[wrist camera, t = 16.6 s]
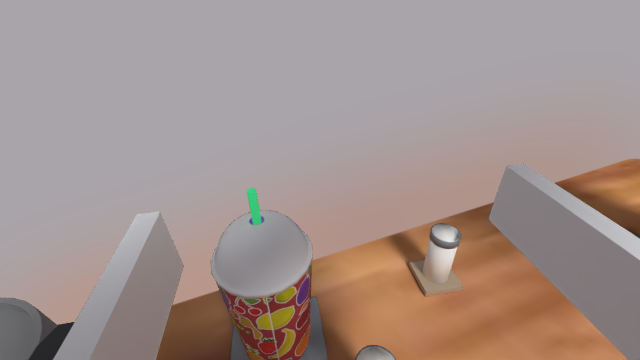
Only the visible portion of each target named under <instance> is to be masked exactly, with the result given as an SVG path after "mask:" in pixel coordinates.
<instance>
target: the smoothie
mask: <svg viewBox="0 0 640 360" xmlns="http://www.w3.org/2000/svg"><path fill="white" fill-rule="evenodd" d="M247 194H248V200H249V205H250V210H251V212H249V213H246V214H244V215H242V216H240V217H238V218H237V219H236V220H234V221H233V222H232V223H231V224H230V225H229V226H228V228H227V229H226V230H225V231H224V232H223V234H222V236H221V238H220V241H219V243H218V246H217V248H216V249H215V251H214V254H213V257H212V259H211V273H212V275H213V277H214V279H215V280H216V283H217V285H218V288H219V290H220V292H221V295H222V297H223V299H224V302H225V304H226V306H227V309H228V311H229V313H230V316H231V318H232V320H233V323H234V325H235V327H236V330H237V332H238V334H239V337H240V339H241V341H242V344H243V346H244V348H245V351H246V353H247V355H248V356H249V358H250V360H299V359H300V358H301V357H302V355H303V354H304V352H305V351H306V349H307V346H308V343H309V339H310V307H311V269H312V262H311V261H312V244H311V242H310V240H309V238H308V236H307V235H306V234H305V233H304V232H303V231H302V230H301V229H300V228H299V227H298V225H297V224H296V223H294V222H293V221H292V220H291V219H290V218H289V217H287V216H285V215H283V214H280V213H278V212H276V211H271V210H259V205H258V199H257V193H256V189H254V188H250V189H248V190H247Z"/></svg>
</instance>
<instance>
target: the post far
mask: <svg viewBox="0 0 640 360" xmlns="http://www.w3.org/2000/svg"><path fill="white" fill-rule="evenodd" d="M460 240H461V233H460V231H459V230H458V229H457V228H455V227H453V226H451V225H448V224H443V223H440V224H435V225H434V226H432V228H431V232H430V240H429V245H428V249H427V253H426V258H425V260H421V261H414V262H409V268H410V269H411V271H412V273H413V275H414V277H415V279H416V281H417V282H418V284H419V286H420V288H421V290H422V292H423V293H424V295H425V296H431V295H437V294H443V293H449V292H455V291H461V290H462V289H463V285H462V283H461V282H460V281H459V279H458V278H457V276H456V275H455V273H454V272H453V271H452V269H451V266H452V263H453V260H454V256H455V253H456V250H457V247H458V245H459V243H460Z"/></svg>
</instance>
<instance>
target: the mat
mask: <svg viewBox="0 0 640 360" xmlns="http://www.w3.org/2000/svg"><path fill="white" fill-rule="evenodd" d="M230 360H250V358H249V356H248V355H247V353H246V351H245V348H244V346H243V344H242V341H241V339H240V337H239V334H238V332H237V330H236V327H235V325H233V336H232V347H231V358H230ZM299 360H328V357H327V351H326V346H325V340H324V335H323V329H322V323H321V318H320V312H319V307H318V301H317V297H313V298H311V307H310V339H309V343H308V346H307V349H306V351H305V352H304V354H303V355H302V357H301V358H300V359H299Z"/></svg>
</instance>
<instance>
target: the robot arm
mask: <svg viewBox="0 0 640 360" xmlns="http://www.w3.org/2000/svg"><path fill="white" fill-rule="evenodd" d="M488 220H489V221H490V222H491V223H492V224H493V225H494V226H495V227H496V228H497V229H498V230H499V231H500V232H501V233H502V234H503V235H504V236H505V237H506V238H507V239H508V240H509V241H510V242H511V243H512V244H513V245H514V246H515V247H516V248H517V249H518V250H519V251H520V252H521V253H522V254H523V255H524V256H525V257H526V258H527V259H528V260H529V261H530V262H531V263H532V264H533V265H534V266H535V267H536V268H537V269H538V270H539V271H540V272H541V273H542V274H543V275H544V276H545V277H546V278H547V279H548V280H549V281H550V282H551V283H552V284H553V285H554V286H555V287H556V288H557V289H558V290H559V291H560V292H561V293H562V294H563V295H564V296H565V297H566V298H567V299H568V300H569V301H570V302H571V303H572V304H573V305H574V306H575V307H576V308H577V309H578V310H579V311H580V312H581V313H582V314H583V315H584V316H585V317H586V318H587V319H588V320H589V321H590V322H591V323H592V324H593V325H594V326H595V327H596V328H597V329H598V330H599V331H600V332H601V333H602V334H603V335H604V336H605V337H606V338H607V339H608V340H609V341H610V342H611V343H612V344H613V345H614V346H615V347H616V348H617V349H618V350H619V351H620V352H621V353H622V354H623V355H624V356H625V357H626V358H627V359H628V360H640V236H639V235H637V234H635V233H632V232H630V231H628V230H626V229H624V228H623V227H621V226H619V225H618V224H616V223H615V222H613V221H612V220H610V219H609V218H607V217H606V216H604V215H603V214H601V213H599V212H598V211H596V210H595V209H593V208H592V207H590V206H589V205H587V204H586V203H584V202H582V201H581V200H579V199H578V198H576V197H575V196H573V195H572V194H570V193H569V192H567V191H566V190H564V189H562V188H561V187H559V186H558V185H556V184H555V183H553V182H552V181H550V180H549V179H547V178H545V177H544V176H542V175H541V174H539V173H538V172H536V171H535V170H533V169H532V168H530V167H529V166H527V165H525V164H517V165H509V166H506V168H505V171H504V174H503V178H502V180H501V183H500V186H499V190H498V192H497V195H496V198H495V201H494V204H493V207H492V210H491V213H490V216H489V219H488ZM183 266H184V265H183V263H182V261H181V258H180V256H179V254H178V251H177V249H176V247H175V245H174V242H173V240H172V238H171V235H170V233H169V231H168V229H167V226H166V224H165V222H164V219H163V217H162V215H161V213H160V212H153V213H146V214H138V215H136V217H135V219H134V221H133V222H132V224H131V226H130V228H129V229H128V231H127V233H126V235H125V236H124V238H123V240H122V241H121V243H120V245H119V247H118V248H117V250H116V252H115V254H114V255H113V257H112V259H111V261H110V262H109V264H108V266H107V267H106V269H105V271H104V273H103V274H102V276H101V278H100V279H99V281H98V283H97V285H96V286H95V288H94V290H93V292H92V293H91V295H90V297H89V298H88V300H87V302H86V304H85V305H84V307H83V309H82V311H81V312H80V314H79V316H78V317H77V319H76V321H75V322H72V323H66V324H60V325H58V326H57V327H56V328H55V329H54V330H53V331H52V332H51V333H50V334H49V335H48V336H47V337H46V338H45V339H44V340H43V341H42V342H40V343H39V344H38V345H37V347H36V348H35V350H34V351H33V353H32V354H31V356H30V358H29V359H28V360H156V358H157V354H158V351H159V348H160V344H161V341H162V337H163V334H164V331H165V327H166V324H167V321H168V317H169V314H170V310H171V307H172V304H173V300H174V297H175V294H176V290H177V287H178V283H179V280H180V277H181V273H182V270H183Z"/></svg>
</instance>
